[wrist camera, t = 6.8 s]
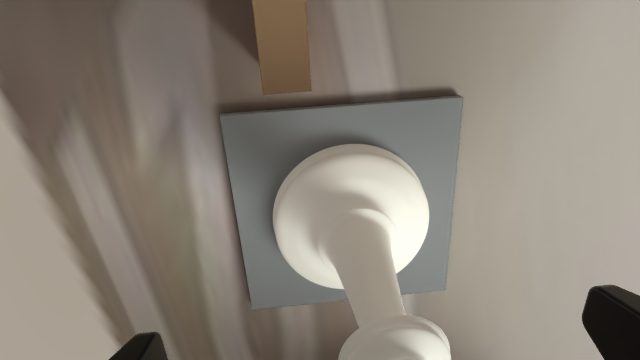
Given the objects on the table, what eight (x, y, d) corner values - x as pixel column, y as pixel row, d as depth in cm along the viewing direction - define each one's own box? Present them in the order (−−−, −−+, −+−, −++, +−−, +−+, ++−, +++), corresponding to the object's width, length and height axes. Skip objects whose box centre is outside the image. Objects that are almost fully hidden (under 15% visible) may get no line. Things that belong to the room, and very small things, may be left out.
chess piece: (434, 256, 13) (773, 812, 4) (298, 293, 13) (320, 906, 4) (411, 123, 11) (984, 623, 2) (250, 168, 11) (98, 822, 2)
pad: (442, 284, 14) (445, 289, 14) (252, 303, 14) (252, 309, 13) (458, 95, 11) (463, 97, 11) (221, 113, 11) (219, 116, 11)
